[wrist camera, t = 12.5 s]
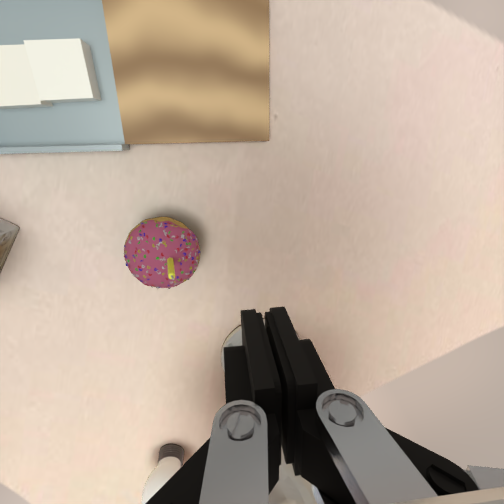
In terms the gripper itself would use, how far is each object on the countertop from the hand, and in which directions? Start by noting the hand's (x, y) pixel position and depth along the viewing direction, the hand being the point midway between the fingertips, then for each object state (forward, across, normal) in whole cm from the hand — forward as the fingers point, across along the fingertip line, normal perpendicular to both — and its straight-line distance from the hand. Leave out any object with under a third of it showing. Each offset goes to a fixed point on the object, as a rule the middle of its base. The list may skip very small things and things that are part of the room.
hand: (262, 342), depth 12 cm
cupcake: (+29, +8, +5) cm, 30 cm away
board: (+28, +3, -14) cm, 32 cm away
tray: (+28, +18, -14) cm, 37 cm away
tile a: (+28, +16, -14) cm, 35 cm away
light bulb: (+30, +12, +43) cm, 53 cm away
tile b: (+28, +21, -14) cm, 37 cm away
